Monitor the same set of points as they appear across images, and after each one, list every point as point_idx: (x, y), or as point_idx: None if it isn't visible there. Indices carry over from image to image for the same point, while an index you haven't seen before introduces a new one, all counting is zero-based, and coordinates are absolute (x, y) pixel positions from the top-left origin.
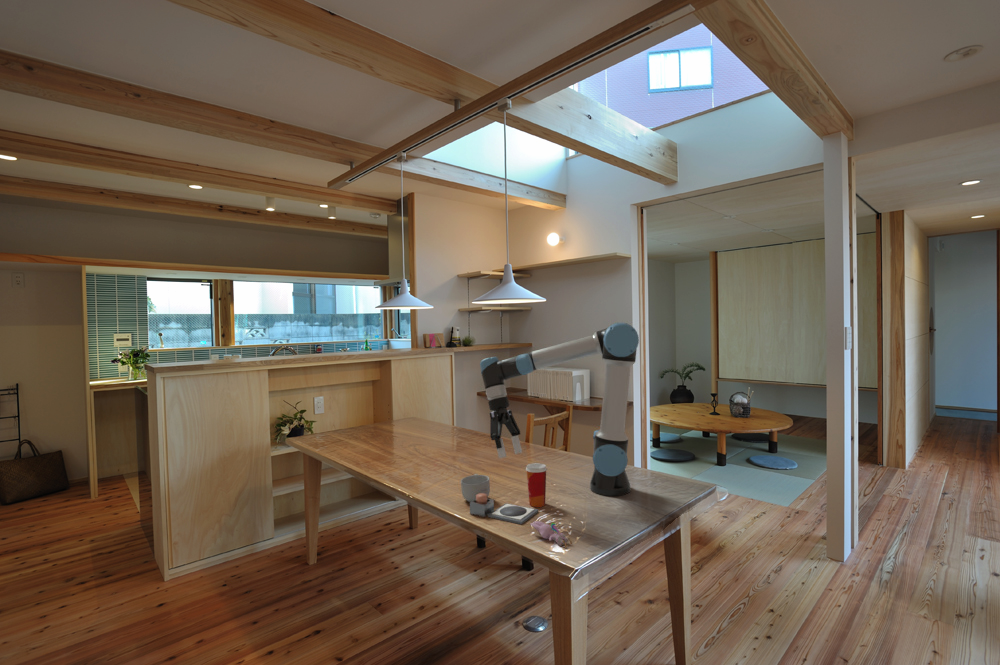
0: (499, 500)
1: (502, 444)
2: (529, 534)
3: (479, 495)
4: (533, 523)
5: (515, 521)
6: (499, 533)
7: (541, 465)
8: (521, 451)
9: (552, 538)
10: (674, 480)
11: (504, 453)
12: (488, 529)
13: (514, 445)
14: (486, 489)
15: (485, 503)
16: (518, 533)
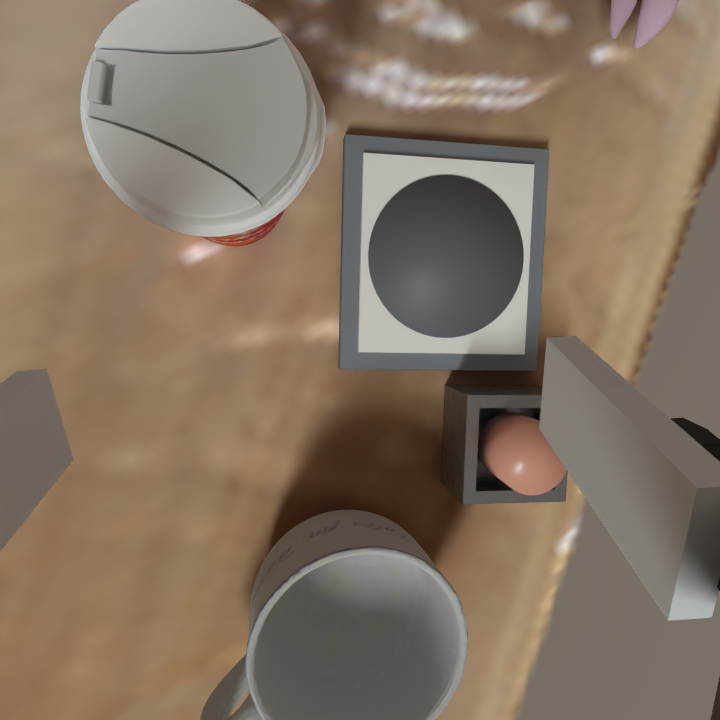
0: (281, 447)
1: (667, 422)
2: (628, 62)
3: (544, 468)
4: (662, 9)
5: (544, 189)
6: (673, 209)
7: (165, 45)
8: (29, 376)
9: None
10: None
11: (593, 359)
12: (655, 283)
13: (2, 516)
14: (364, 524)
15: None
16: (639, 120)
